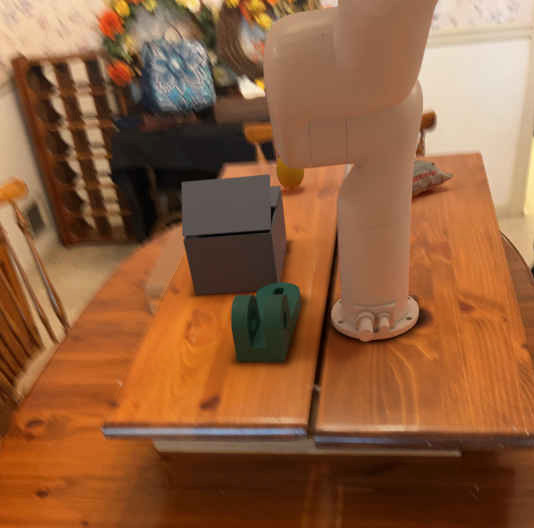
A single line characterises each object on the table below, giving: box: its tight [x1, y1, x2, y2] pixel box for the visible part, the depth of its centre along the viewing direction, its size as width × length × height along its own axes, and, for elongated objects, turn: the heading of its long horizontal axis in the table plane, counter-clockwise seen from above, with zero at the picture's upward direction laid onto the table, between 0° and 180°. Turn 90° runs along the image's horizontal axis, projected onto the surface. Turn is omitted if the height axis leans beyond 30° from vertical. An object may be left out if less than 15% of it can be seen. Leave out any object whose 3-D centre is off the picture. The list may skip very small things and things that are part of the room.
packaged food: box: [412, 159, 454, 198], centre depth 122 cm, size 9×12×5 cm
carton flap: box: [181, 173, 271, 238], centre depth 97 cm, size 8×14×1 cm
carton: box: [182, 185, 288, 296], centre depth 106 cm, size 17×14×10 cm
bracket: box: [230, 281, 302, 363], centre depth 93 cm, size 18×7×8 cm, turn 169°
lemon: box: [275, 156, 305, 192], centre depth 128 cm, size 6×6×8 cm
